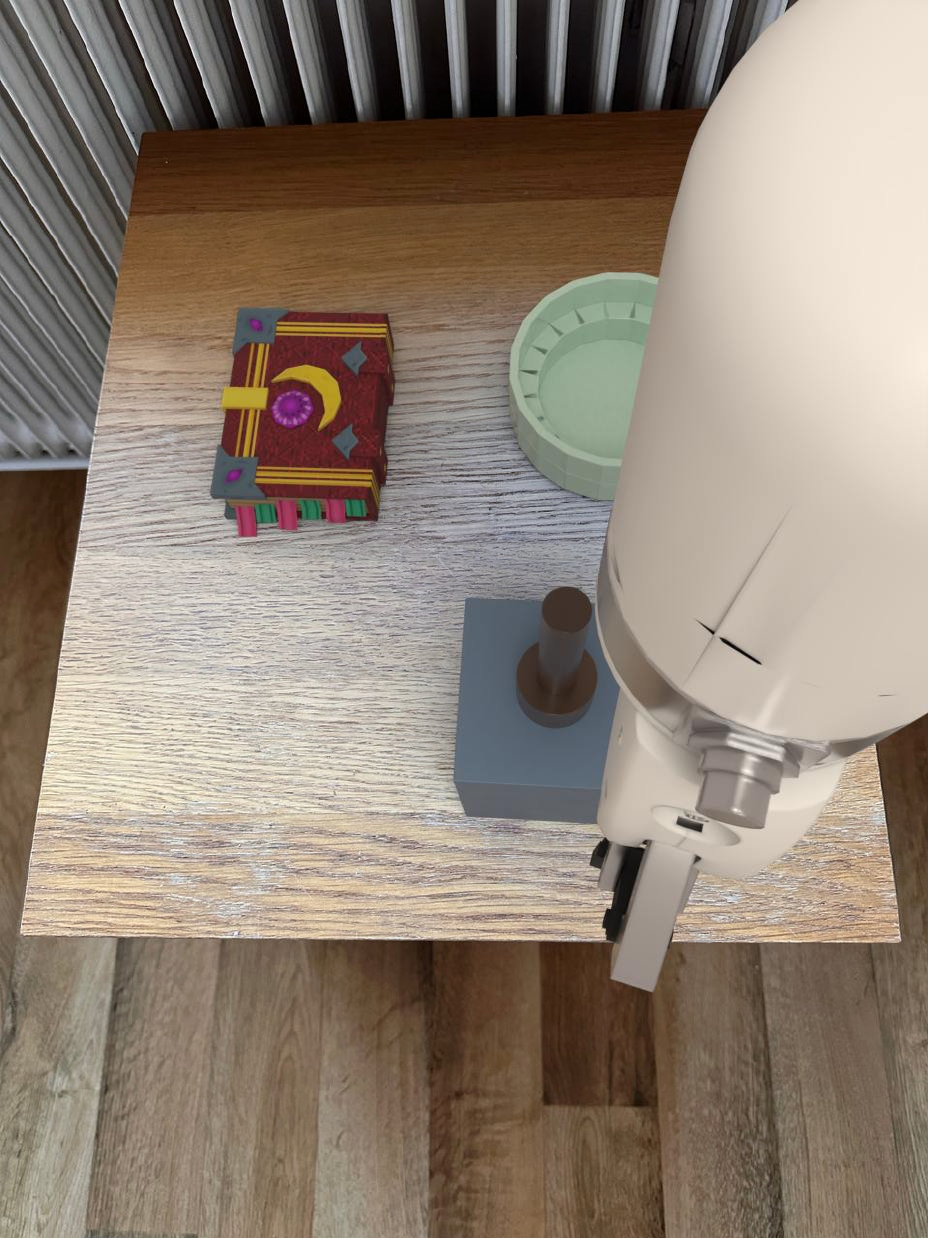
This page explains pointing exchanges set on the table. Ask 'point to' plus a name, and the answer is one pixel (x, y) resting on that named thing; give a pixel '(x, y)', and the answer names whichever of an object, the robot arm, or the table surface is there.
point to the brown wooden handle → (559, 663)
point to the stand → (524, 725)
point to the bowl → (581, 378)
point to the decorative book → (305, 418)
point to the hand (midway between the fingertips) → (665, 744)
